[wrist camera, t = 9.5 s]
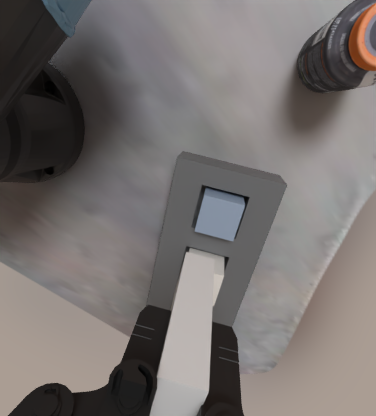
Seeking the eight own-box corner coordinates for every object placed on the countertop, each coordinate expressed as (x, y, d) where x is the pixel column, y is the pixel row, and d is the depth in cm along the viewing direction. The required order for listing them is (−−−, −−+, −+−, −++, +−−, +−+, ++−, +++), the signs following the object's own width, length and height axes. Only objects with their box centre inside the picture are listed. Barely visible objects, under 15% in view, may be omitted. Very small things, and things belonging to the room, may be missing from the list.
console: (148, 311, 42) (141, 331, 38) (182, 151, 32) (177, 157, 28) (221, 331, 41) (221, 353, 38) (279, 175, 31) (287, 184, 28)
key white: (182, 275, 34) (177, 296, 31) (190, 247, 33) (185, 265, 29) (215, 284, 34) (213, 306, 31) (224, 256, 33) (224, 276, 29)
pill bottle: (352, 92, 27) (430, 84, 17) (292, 93, 28) (332, 86, 18) (365, 24, 25) (465, -34, 15) (300, 27, 26) (351, -25, 15)
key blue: (198, 217, 33) (194, 231, 29) (206, 184, 31) (204, 195, 27) (232, 226, 33) (233, 241, 29) (242, 193, 31) (245, 205, 27)
